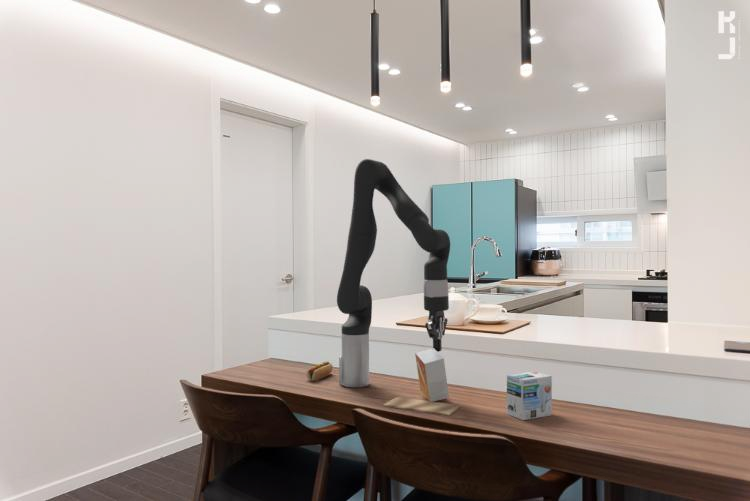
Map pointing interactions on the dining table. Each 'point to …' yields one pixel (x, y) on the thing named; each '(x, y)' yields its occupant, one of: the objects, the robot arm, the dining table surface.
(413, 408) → the wooden board
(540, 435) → the dining table surface
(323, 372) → the food
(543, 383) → the light bulb box
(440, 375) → the small box
